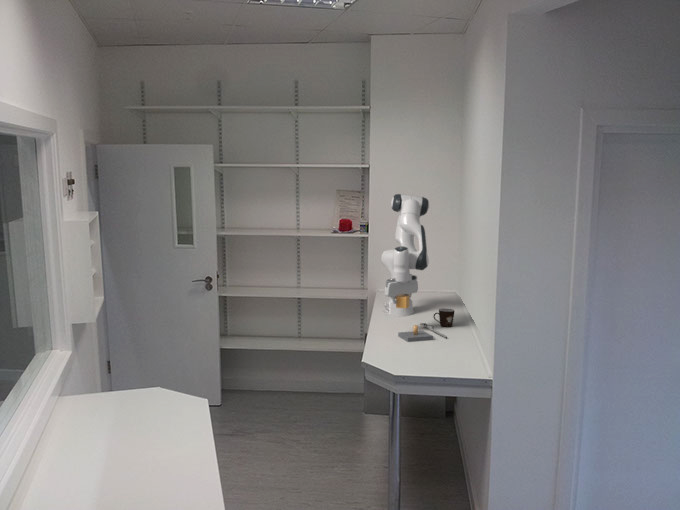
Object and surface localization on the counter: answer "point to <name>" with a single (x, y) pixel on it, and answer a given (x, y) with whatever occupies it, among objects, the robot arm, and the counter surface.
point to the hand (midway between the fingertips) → (401, 302)
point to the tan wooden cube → (402, 301)
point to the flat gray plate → (415, 335)
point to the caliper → (433, 329)
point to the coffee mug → (445, 317)
